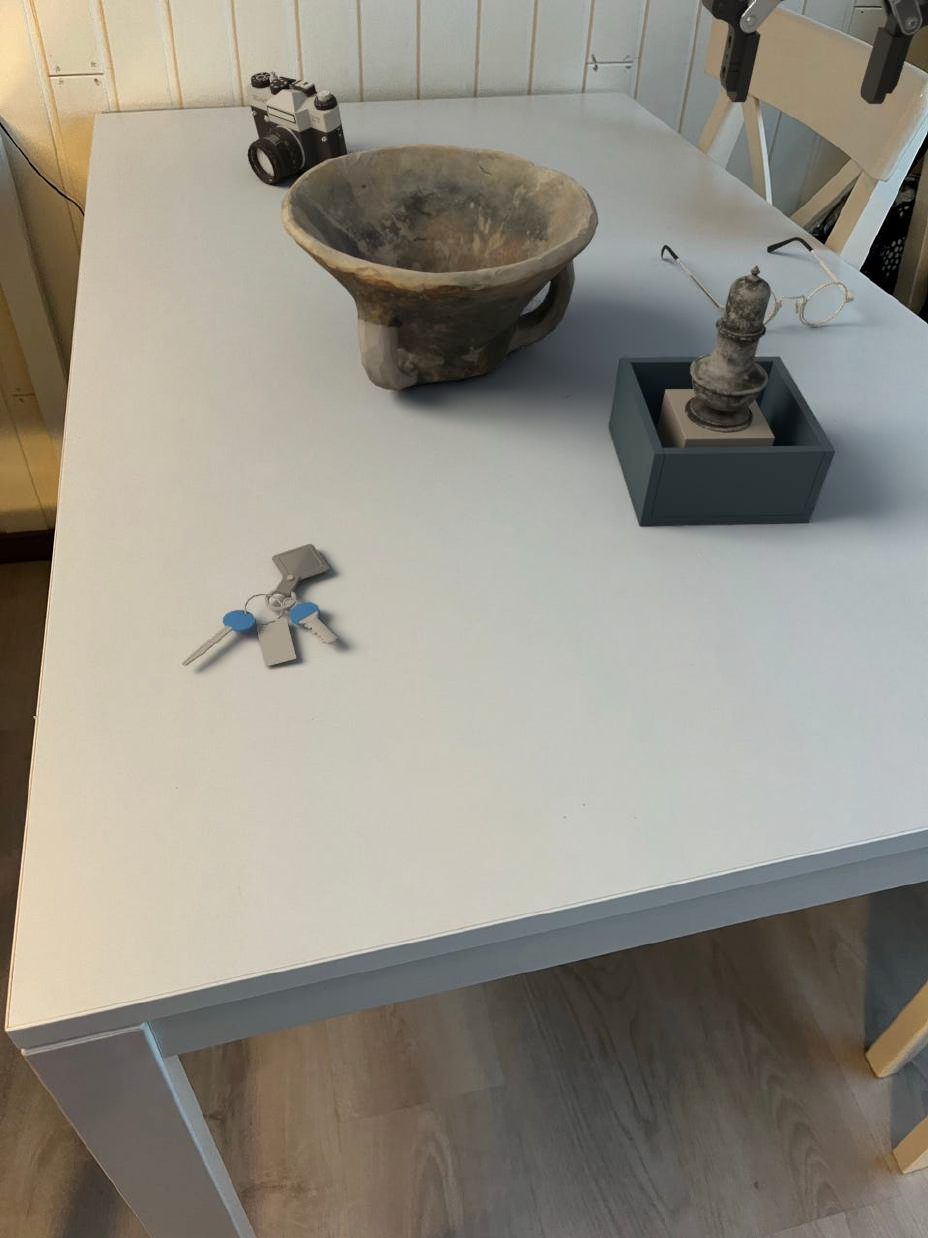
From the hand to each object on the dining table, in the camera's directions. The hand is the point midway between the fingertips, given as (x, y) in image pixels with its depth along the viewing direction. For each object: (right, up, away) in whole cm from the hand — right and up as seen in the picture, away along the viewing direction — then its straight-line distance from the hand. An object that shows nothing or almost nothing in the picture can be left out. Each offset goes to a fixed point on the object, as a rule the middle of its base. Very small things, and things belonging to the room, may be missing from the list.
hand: (803, 99), depth 59 cm
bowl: (-23, -7, +33) cm, 41 cm away
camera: (-44, +25, +64) cm, 81 cm away
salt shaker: (-1, -16, +17) cm, 23 cm away
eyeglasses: (+10, +3, +44) cm, 45 cm away
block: (-1, -19, +20) cm, 28 cm away
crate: (-1, -20, +21) cm, 29 cm away
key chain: (-33, -32, +7) cm, 46 cm away
